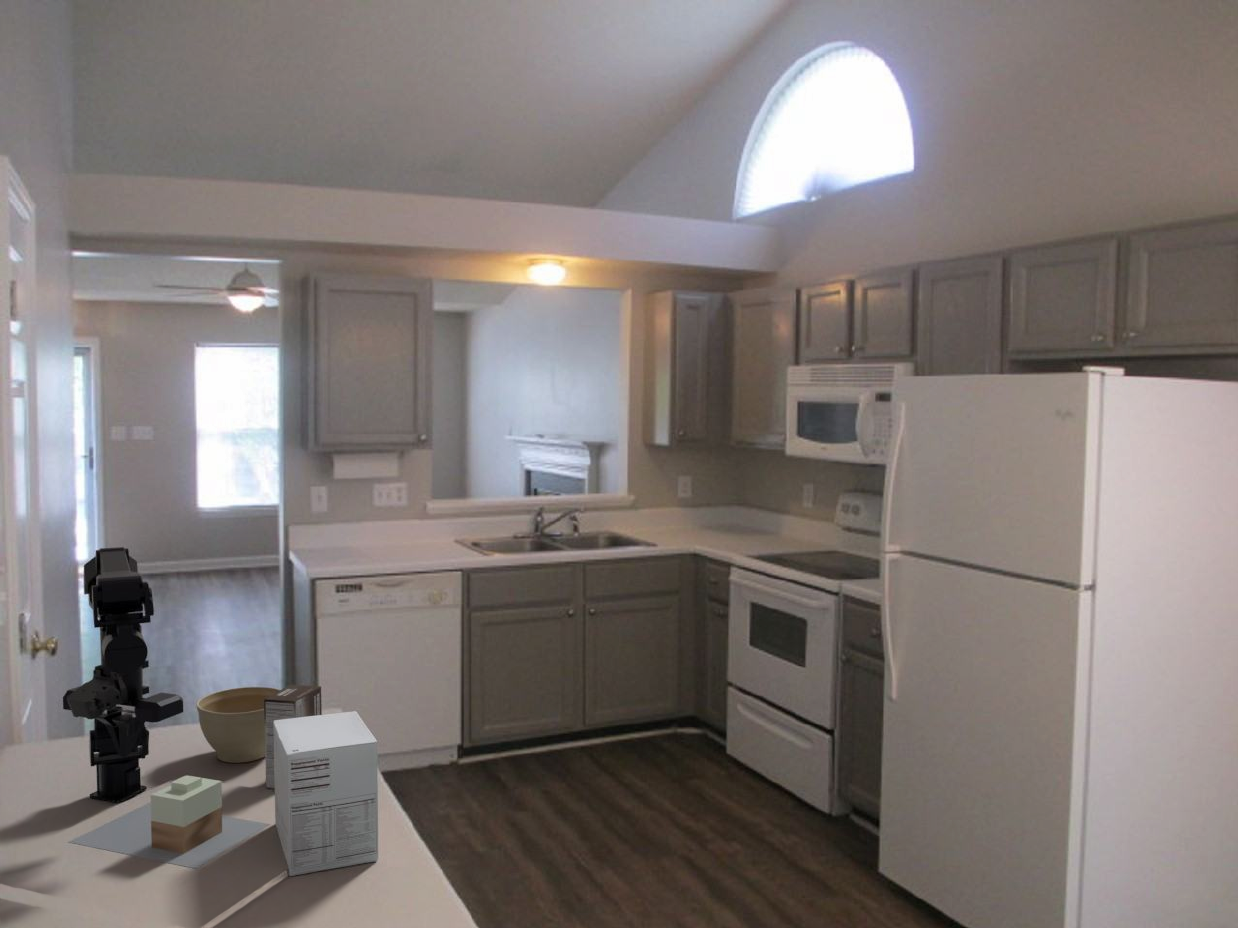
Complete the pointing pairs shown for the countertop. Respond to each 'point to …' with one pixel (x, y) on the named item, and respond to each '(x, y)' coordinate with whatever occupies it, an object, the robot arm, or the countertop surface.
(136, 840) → the base plate
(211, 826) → the lower brick
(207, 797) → the upper brick
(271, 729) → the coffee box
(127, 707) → the robot arm
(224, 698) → the planter bowl
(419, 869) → the countertop surface
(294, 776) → the supplement box
